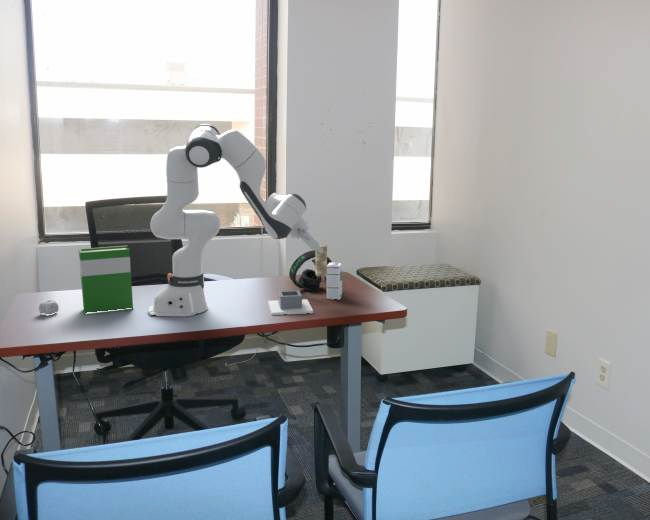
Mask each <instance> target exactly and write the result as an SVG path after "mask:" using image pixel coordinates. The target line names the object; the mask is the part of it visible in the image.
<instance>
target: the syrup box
mask: <svg viewBox="0 0 650 520" xmlns="http://www.w3.org/2000/svg"><path fill="white" fill-rule="evenodd" d="M325 278H326V282H325V283H326V300H334V299H337V300H341V299H342V297H343V263H342V262H332V263H329V264H328V265H327V276H326V277H325ZM337 300H336V301H337Z"/></svg>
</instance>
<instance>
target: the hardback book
mask: <svg viewBox="0 0 650 520" xmlns="http://www.w3.org/2000/svg"><path fill="white" fill-rule="evenodd" d="M130 252H131V251H130V248H128V245H115V246H104V247H88V248H78V260H79V268H80V270H79V271H80V283H81V284H80V285H81V293H82V295H81V296H82V307H83V308H84V309H83V308H82V309H83V313H84V312H85V313H87V312H97V311H108V310H117V309H126V308H133V309H134V304H133V299H134V298H133V284H132V273H131V270H132V269H131V255H130ZM85 313H84V314H85Z"/></svg>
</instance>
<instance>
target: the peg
mask: <svg viewBox="0 0 650 520" xmlns="http://www.w3.org/2000/svg"><path fill="white" fill-rule="evenodd" d="M319 246H320V247H321V248H322V249H323V250H324V252H323V253H322V254H320V253H319V252H318V251H317V250H316V249H315V257H314V259H315V264H314V266H315V267H314V268H315V269H314V271H315V274H316V276H321V277H324V276H327V257H328V246H327V245H326V244H320V245H319Z"/></svg>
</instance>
